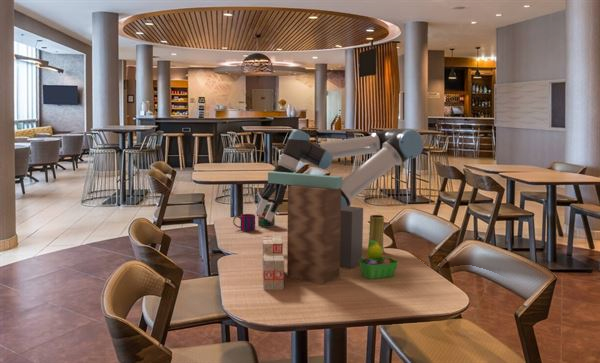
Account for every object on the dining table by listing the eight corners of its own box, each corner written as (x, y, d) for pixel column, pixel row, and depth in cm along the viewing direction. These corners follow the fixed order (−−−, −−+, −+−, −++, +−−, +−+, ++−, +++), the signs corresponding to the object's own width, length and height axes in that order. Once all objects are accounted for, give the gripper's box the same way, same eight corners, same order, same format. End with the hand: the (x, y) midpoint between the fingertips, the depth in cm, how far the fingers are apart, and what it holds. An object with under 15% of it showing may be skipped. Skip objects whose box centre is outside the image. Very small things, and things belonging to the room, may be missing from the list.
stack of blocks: (284, 290, 163) (284, 250, 161) (263, 290, 162) (263, 250, 161) (280, 269, 184) (280, 234, 182) (262, 270, 183) (262, 234, 182)
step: (320, 263, 192) (321, 208, 189) (332, 257, 200) (333, 204, 197) (350, 268, 186) (352, 211, 183) (361, 262, 193) (363, 207, 191)
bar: (267, 182, 179) (267, 172, 179) (273, 181, 182) (273, 171, 182) (336, 189, 166) (337, 177, 165) (342, 187, 169) (342, 176, 168)
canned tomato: (277, 224, 258) (277, 202, 257) (270, 228, 251) (270, 204, 249) (262, 223, 261) (262, 201, 259) (255, 226, 253) (255, 203, 252)
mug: (254, 231, 243) (254, 216, 242) (232, 231, 243) (232, 216, 242) (255, 228, 250) (255, 213, 249) (234, 228, 250) (234, 213, 249)
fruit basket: (369, 280, 172) (369, 246, 171) (355, 273, 180) (356, 240, 179) (398, 276, 177) (400, 243, 175) (384, 269, 185) (385, 237, 183)
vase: (385, 251, 210) (386, 215, 208) (382, 254, 204) (383, 218, 202) (369, 249, 212) (370, 214, 210) (366, 253, 206) (367, 216, 204)
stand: (287, 277, 175) (287, 186, 171) (303, 269, 184) (304, 182, 180) (324, 284, 168) (326, 189, 164) (339, 276, 176) (341, 186, 173)
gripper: (268, 161, 220) (246, 208, 219) (287, 165, 197) (263, 218, 195) (283, 169, 223) (262, 215, 221) (305, 174, 199) (281, 226, 198)
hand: (262, 217), depth 208 cm, fingers open, 13 cm apart
